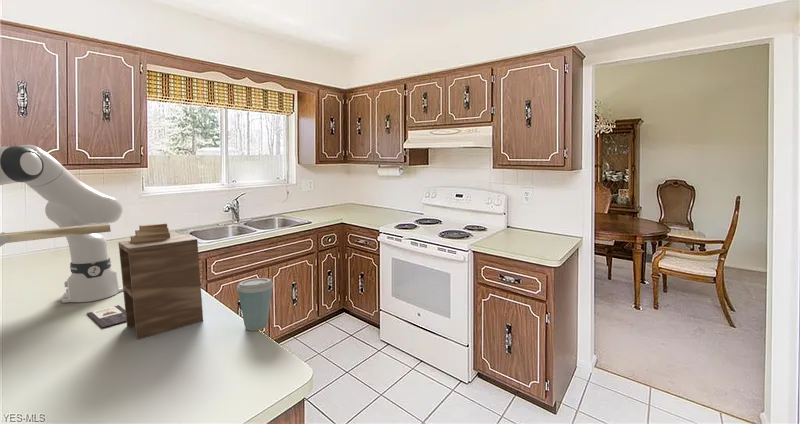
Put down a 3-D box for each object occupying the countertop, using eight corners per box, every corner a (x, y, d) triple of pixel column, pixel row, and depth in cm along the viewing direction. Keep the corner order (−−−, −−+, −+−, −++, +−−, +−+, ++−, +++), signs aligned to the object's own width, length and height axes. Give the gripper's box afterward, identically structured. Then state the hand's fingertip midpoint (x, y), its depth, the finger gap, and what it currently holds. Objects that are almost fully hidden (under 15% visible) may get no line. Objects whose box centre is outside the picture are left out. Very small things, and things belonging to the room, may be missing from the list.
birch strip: (-15, 243, 92) (-16, 235, 92) (108, 230, 109) (107, 223, 109) (-15, 245, 90) (-16, 237, 89) (110, 231, 107) (109, 224, 107)
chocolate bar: (102, 327, 117) (86, 312, 128) (102, 330, 117) (87, 315, 129) (136, 318, 124) (118, 305, 135) (136, 320, 124) (118, 307, 135)
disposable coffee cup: (233, 326, 119) (230, 280, 117) (266, 316, 126) (264, 273, 124) (247, 337, 111) (244, 288, 109) (281, 326, 119) (279, 280, 117)
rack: (126, 326, 119) (116, 227, 115) (189, 310, 132) (182, 220, 128) (137, 339, 110) (127, 232, 106) (203, 320, 123) (196, 224, 119)
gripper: (-84, 272, 77) (-4, 231, 85) (-73, 255, 91) (-5, 221, 99) (-56, 294, 80) (19, 252, 88) (-49, 274, 94) (16, 239, 102)
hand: (7, 236), depth 93 cm, fingers closed on birch strip, 3 cm apart
